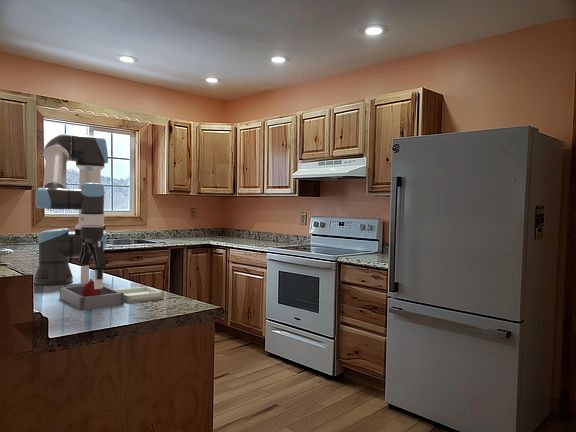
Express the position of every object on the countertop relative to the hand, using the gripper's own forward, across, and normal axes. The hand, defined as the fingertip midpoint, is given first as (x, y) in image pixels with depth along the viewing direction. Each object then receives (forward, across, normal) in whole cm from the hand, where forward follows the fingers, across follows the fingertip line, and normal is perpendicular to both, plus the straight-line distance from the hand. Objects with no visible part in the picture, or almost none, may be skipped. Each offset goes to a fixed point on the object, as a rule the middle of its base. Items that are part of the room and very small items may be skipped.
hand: (91, 286), depth 159 cm
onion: (+6, 0, 0) cm, 6 cm away
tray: (+6, +3, +16) cm, 17 cm away
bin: (+6, 0, 0) cm, 6 cm away
